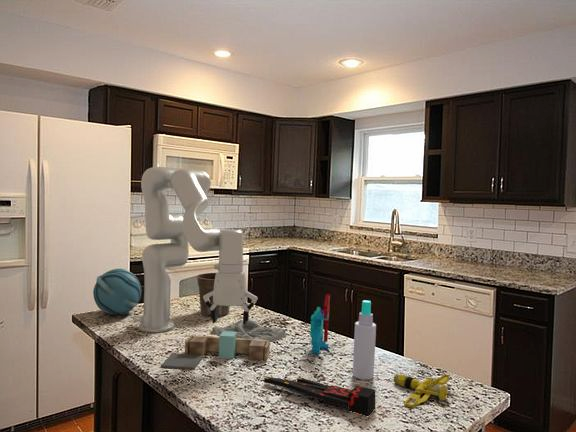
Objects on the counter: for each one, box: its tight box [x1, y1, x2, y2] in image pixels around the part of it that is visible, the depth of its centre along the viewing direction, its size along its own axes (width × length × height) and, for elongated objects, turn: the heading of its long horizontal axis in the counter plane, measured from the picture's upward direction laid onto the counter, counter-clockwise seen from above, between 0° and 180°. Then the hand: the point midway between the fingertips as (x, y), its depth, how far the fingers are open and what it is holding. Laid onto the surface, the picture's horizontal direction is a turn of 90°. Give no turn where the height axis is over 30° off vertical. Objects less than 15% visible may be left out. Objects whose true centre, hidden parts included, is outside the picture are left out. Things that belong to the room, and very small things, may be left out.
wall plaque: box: [211, 319, 287, 343], centre depth 164 cm, size 24×19×4 cm
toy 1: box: [92, 268, 142, 316], centre depth 182 cm, size 18×20×20 cm
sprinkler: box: [392, 373, 450, 409], centre depth 120 cm, size 19×4×15 cm
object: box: [195, 272, 231, 317], centre depth 190 cm, size 16×16×16 cm
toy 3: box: [263, 376, 376, 417], centre depth 116 cm, size 8×5×30 cm
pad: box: [160, 352, 204, 371], centre depth 135 cm, size 10×10×1 cm
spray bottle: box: [352, 299, 377, 381], centre depth 129 cm, size 6×6×22 cm
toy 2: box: [309, 293, 331, 355], centre depth 148 cm, size 18×6×15 cm
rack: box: [184, 334, 271, 362], centre depth 142 cm, size 26×7×4 cm, turn 86°
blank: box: [218, 331, 237, 359], centre depth 142 cm, size 4×4×7 cm
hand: (229, 322), depth 141 cm, fingers open, 9 cm apart
